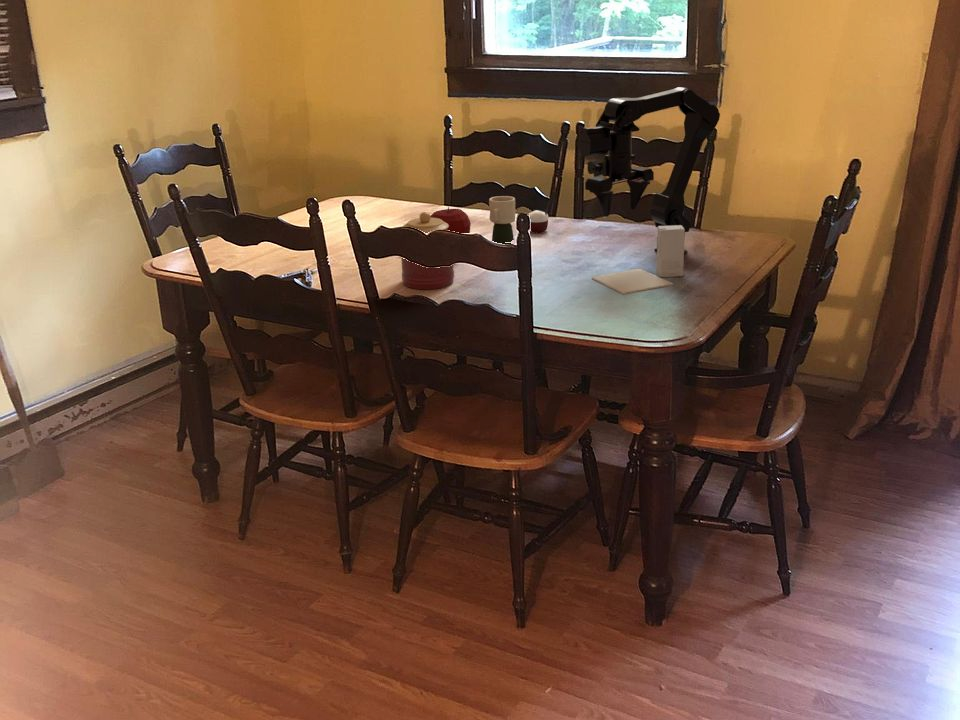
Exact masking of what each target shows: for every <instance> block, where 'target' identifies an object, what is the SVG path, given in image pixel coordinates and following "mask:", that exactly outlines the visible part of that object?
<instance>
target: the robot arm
mask: <svg viewBox="0 0 960 720" xmlns="http://www.w3.org/2000/svg"><path fill="white" fill-rule="evenodd" d="M675 107H678V109H679V111H680V112H681V113H682V114H683V115H684V121H683V127H684V138H683V140H682V144H681V146H680V148H679V151H678V155H677V157H676V160H675V162H674V165H673V167H672V170H671V173H670V176H669V177H668V182H667V184H666V187H665V188H664V190H663V191H662V192H661V193H657V192H656V193H655V194H654V195H653V200H652V203H651V204H650V206H649V208H650V211H649V213H650V217H651V220H652V221H653V223H654V225H655V228H657V229H658V226H674V225H682V226H683V228H684V229H685V233H689V231H690V229H691V226H692V223H691V222H690V221H689V220H688V219H687V218H686V217H685V216H684V213H685V207H686V202H685V194H686V193H685V192H686V191H687V190H686V189H687V187H688V185H689V182H690V179H691V176H692V174H693V171H694V168H695V166H696V163H697V160H698V157H699V154H700V152H701V149H702V146H703V143H704V141H705V140H706V139H708V137H709V136H710V135H711V134H712V133H713V132H714V131H715V129H716V127H717V125H718V123H719V121H720V117H721V112H720V111H719V110H720V109H719V108H718V106H716V105H715V104H710V103H709V102H708V101H707V100H706V99H704V98H702V97H701V96H699V95H698V94H696V93H695V92H694V91H693V90H692V89H690V88H689V87H682V86H678V87H676V88H673V89H669V90H665V91H664V90H663V91H661V92H657V93H653V94H648V95H644V96H640V97H613V98H610V99H608V100H607V101H606V104H605V105H604V110H603V112H602V113H601V115H600V117H599V119H598V120H597V122H596V124H595V126H594V127H583V128H582V133H581V134H580V136H579V140H578V142H577V144H578V151H579V152H580V154H581V156H583V157H584V158H587V157H592V156H598V155H599V156H600V155H604V157H603V161H601V162H598V160H597V159H594V160H590V161H588V162H587V165H586V166H587V168H586V169H587V172H588V174H589V175H593V176H591V177H588V178H587V179H586V180H585V182H584V186H585V188H584V189H585V190H586V191H589V192H590V193H592V194H594V195H595V196H596V199H598V202H599V204H600V208H601V210H602V212H603V216H604V217H607V218H608V217H609V216H610V212H611V207H612V202H613V195H614V191H612V189H613V185H619V184H621V183H625V182H626V183H627V186H629V196H630V197H629V201H630V202H629V204H630V209H631V210H636V208H637V206H638V204H639V201H640V200H641V198H642V196H643V194H644V192H645V191H646V189H647V187H648V186H649V185H650V184H651V181H654V179H655V177H654V176H655V175H654V174H655V173H654V171H653V170H652V168H649V167H645V166H644V167H643V166H635V167H632V161H633V160H636V155H635V154H632V148H633V147H632V146H633V145H632V141H633V140H632V138H633V137H632V133H634V132H639V131H640V127H638V126H637V124H635V123H634V122H636V121H638V120H640V119H641V118H642V117H643V116H645V115H647V114H651V113H655V112H659V111H663V110H668V109H670V108H675ZM685 236H686V234H685V235H684V242H685V239H686V237H685ZM688 251H689V250H686V249H684V254H688ZM654 252H656V253H657V247H656V248H654Z"/></svg>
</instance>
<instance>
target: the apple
mask: <svg viewBox="0 0 960 720" xmlns="http://www.w3.org/2000/svg"><path fill="white" fill-rule="evenodd" d="M430 218H438V219H441V220H442V221H444V222H445V223H447V224H448V225H449V227H448V229H447V230H450V231H455V232H459V233H470V234H471V225H472V224H471V221H470V217H469V215H468V214H467V213H466V212H465V211H464V210H462V209H460V208H450V207H449V206H448V207H447V209H446V208H444V209H440V210H436V211H434V212H433V213H431V214H430Z"/></svg>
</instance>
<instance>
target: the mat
mask: <svg viewBox="0 0 960 720" xmlns="http://www.w3.org/2000/svg"><path fill="white" fill-rule="evenodd" d="M593 279H594V281H595V280H596V282H597V283H600V284H601V285H603V286H605V287H607V288H610V289H611V290H614V291H615V292H616V293H617V292H618V293H619V294H620V295H627V294H634V293H639V292H644V291H648V290H653V289H658V288H664V287H668V286H669V287H670V286H674V283H673V282H671V281H668V280H666V279H664V278H663V277H659V276H657V275H655V274H653V273H650V272H649V271H646V270H644V269H641V268H636V269H629V270H623V271H618V272H613V273H608V274H607V273H606V274H602V275H597V276H596V275H595V276H591V280H593Z"/></svg>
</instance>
